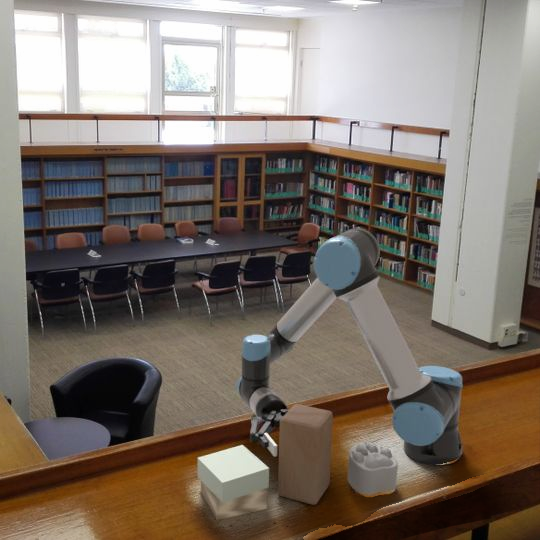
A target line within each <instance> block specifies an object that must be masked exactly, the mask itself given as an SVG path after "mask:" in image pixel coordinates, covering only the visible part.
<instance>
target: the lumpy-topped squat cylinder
mask: <svg viewBox="0 0 540 540" xmlns="http://www.w3.org/2000/svg"><path fill="white" fill-rule="evenodd" d="M398 465H399V463H398V460H397V458H396V457H395V456H394V454H392V451H391V450H390V448H388V447H386V446H385V447H383V446H380V445H377V444H375V443H374V442H358V443H356V444H354V445H353V446H351V448H350V449H349V453H348V467H347V468H348V469H347V470H348V471H347V482H348V484H349V485H350V487H351V488H352V489H353V490H354V489H355V490H356V491H357V492H359V493H361V494H367V495H371V494H375V493H378V492H381V491H388V490H389V491H390V490H394V489H395V488H396V489H397V479H398V469H399V468H398ZM355 490H354V491H355ZM356 491H355V492H356ZM357 492H356V493H357Z"/></svg>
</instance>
